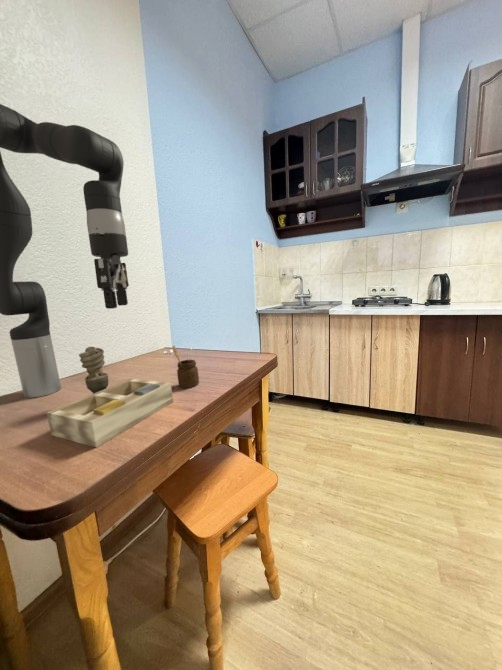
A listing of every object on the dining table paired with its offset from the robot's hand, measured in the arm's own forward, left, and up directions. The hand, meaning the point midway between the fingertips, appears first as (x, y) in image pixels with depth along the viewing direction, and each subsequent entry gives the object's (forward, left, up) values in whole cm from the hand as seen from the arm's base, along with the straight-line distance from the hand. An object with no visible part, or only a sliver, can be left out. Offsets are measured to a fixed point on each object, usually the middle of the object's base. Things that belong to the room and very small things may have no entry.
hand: (117, 306), depth 65 cm
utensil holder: (+5, +16, -25) cm, 30 cm away
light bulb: (-11, -1, -25) cm, 27 cm away
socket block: (+2, -6, -25) cm, 25 cm away
